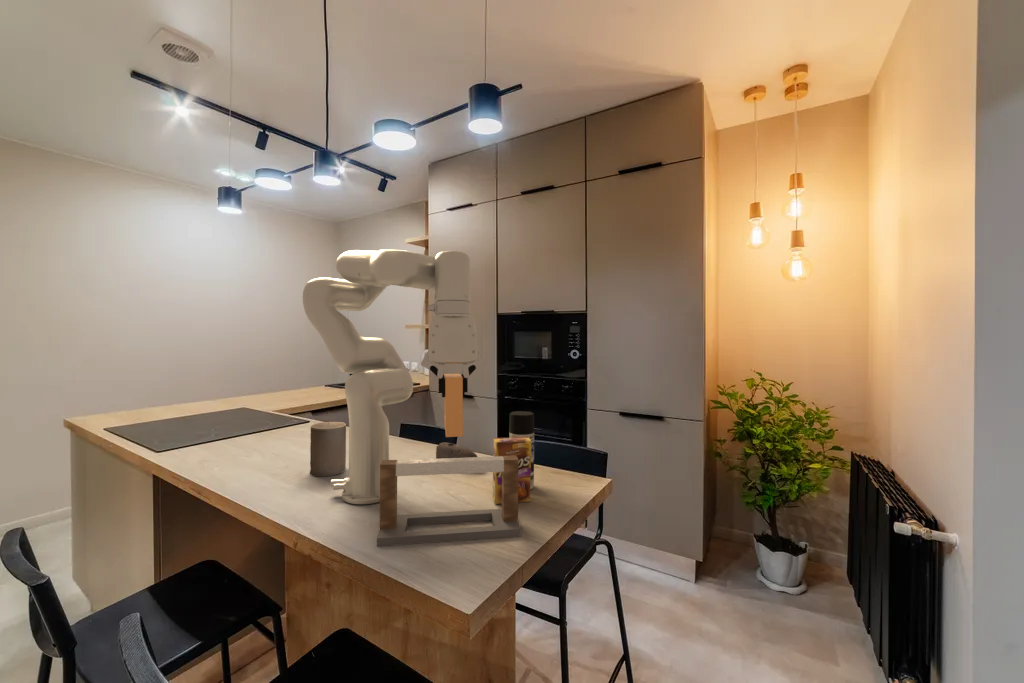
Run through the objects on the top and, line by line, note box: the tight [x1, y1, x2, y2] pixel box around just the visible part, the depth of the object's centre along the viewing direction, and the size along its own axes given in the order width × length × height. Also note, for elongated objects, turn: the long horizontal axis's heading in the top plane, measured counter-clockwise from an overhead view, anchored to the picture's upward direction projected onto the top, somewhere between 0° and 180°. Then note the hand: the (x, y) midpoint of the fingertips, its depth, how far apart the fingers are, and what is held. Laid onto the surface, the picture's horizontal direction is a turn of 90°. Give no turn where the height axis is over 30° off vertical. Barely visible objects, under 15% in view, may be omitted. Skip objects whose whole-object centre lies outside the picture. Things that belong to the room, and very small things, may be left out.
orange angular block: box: [443, 373, 464, 438], centre depth 87 cm, size 10×3×12 cm, turn 11°
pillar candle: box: [309, 420, 347, 478], centre depth 119 cm, size 10×10×15 cm
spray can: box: [508, 410, 535, 491], centre depth 108 cm, size 7×7×20 cm
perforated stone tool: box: [435, 441, 478, 459], centre depth 124 cm, size 15×5×7 cm, turn 59°
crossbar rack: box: [376, 455, 522, 547], centre depth 85 cm, size 28×10×14 cm, turn 99°
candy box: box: [491, 437, 531, 505], centre depth 100 cm, size 9×4×15 cm, turn 103°
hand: (453, 395), depth 87 cm, fingers closed on orange angular block, 3 cm apart
